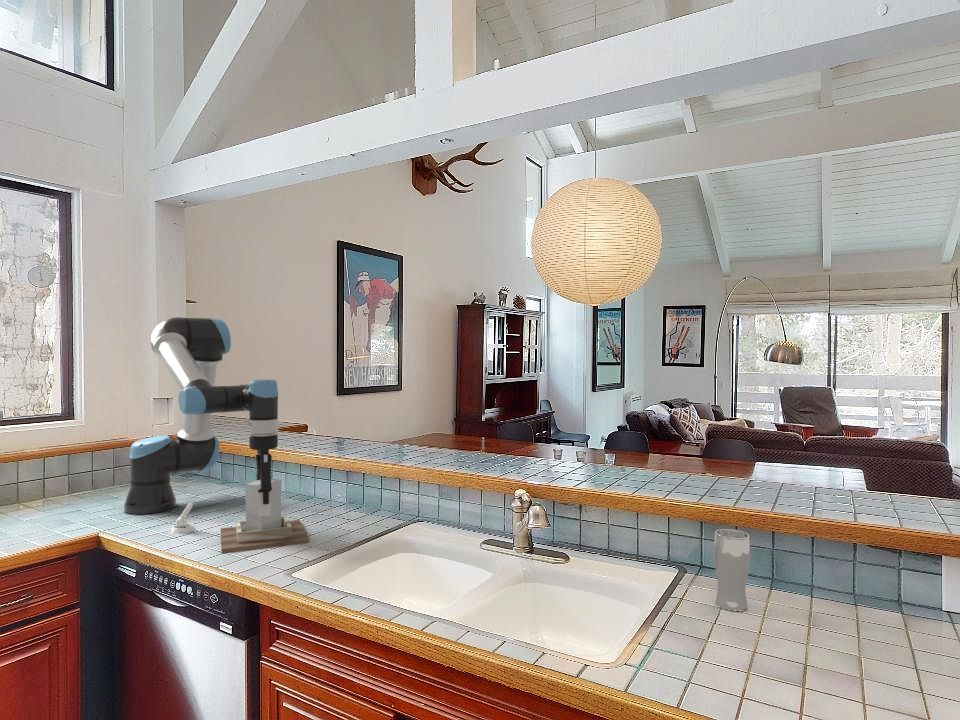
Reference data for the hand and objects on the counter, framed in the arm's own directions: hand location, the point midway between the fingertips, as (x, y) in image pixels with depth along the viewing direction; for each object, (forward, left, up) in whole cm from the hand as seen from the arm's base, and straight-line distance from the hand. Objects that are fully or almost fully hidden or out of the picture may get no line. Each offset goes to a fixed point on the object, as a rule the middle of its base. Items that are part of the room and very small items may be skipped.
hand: (263, 509), depth 167 cm
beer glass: (+87, +85, -8) cm, 122 cm away
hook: (-16, -21, -8) cm, 28 cm away
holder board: (0, 0, -8) cm, 8 cm away
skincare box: (0, 0, -7) cm, 7 cm away
